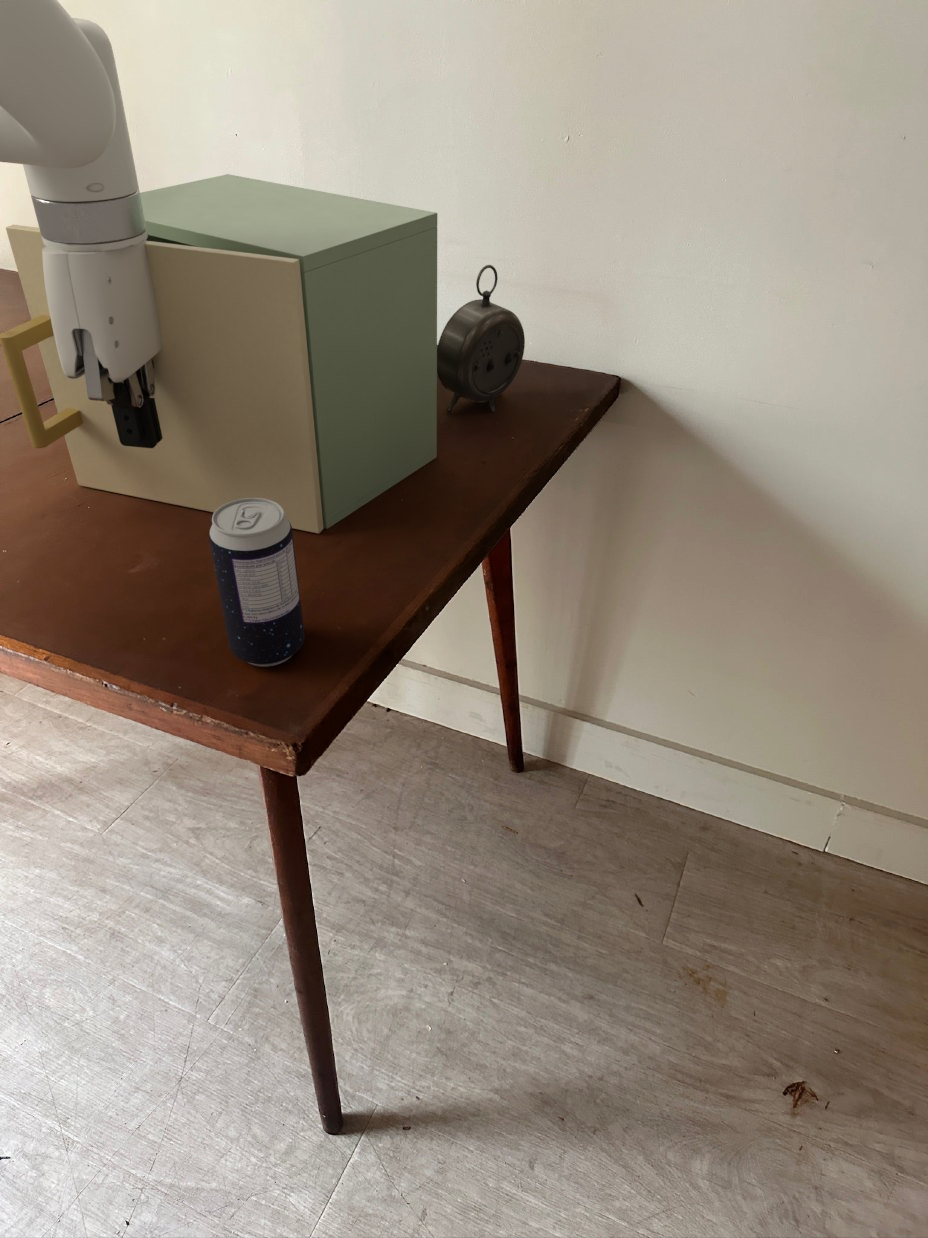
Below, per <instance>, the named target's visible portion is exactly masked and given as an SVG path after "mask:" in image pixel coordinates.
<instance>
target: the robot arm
mask: <svg viewBox="0 0 928 1238" xmlns="http://www.w3.org/2000/svg"><path fill="white" fill-rule="evenodd" d="M129 133H130V132H129V127H128V123H127V117H126V111H125V107H124V102H123V95H122V91H121V85H120V80H119V75H118V70H117V64H116V58H115V55H114V51H113V46H112V43H111V41H110V38H109V36H108V35H107V33H106V32H105V30H104V29H103V28H102V27H101V26H100V25H99V24H97V22H95V21H94V22H93V21H92V20H89V19H84V18H77V17H72V16H71V15H70V13H68V11H67V10H66V9H65V8H64V6H63V5H62V4H61V3H60V2H59V1H58V0H0V163H6V164H7V163H8V164H16V165H17V164H18V165H22V167H23V171H24V175H25V179H26V182H27V185H28V189H29V193H30V198H31V201H32V205H33V209H34V212H35V216H36V221H37V225H38V228H39V229H40V232H41V236H42V240H43V243H44V245H45V246H46V247H45V248H43V249H42V256H43V272H44V282H45V289H46V296H47V302H48V307H49V312H50V318H51V323H52V328H53V333H54V337H55V342H56V346H57V350H58V355H59V359H60V362H61V366H62V369H63V372H64V374H65V375H66V376H67V377H68V378H70V379H76V378H79V377H81V376H82V375H84V374H85V378H86V386H87V395H88V398H89V399H90V400H95V401H106V402H107V404H108V405H111V407H112V411H113V415H114V419H115V423H116V428H117V432H118V436H119V440H120V443H121V444H122V445H124V446H131V447H142V448H154V447H155V446H156V445H157V443H159V442H160V441H161V440H162V432H161V428H160V423H159V418H158V413H157V408H156V404H155V399H154V398H150V396H154V395H155V390H156V389H155V380H154V372H153V369H154V362H153V360H152V357H153V356H155V355H156V354H157V353H158V352H159V351H160V350H161V349H162V340H161V330H160V322H159V316H158V309H157V303H156V298H155V292H154V287H153V282H152V276H151V272H150V267H149V262H148V257H147V253H146V248H145V243H146V239H147V238H148V233H147V228H146V223H145V218H144V213H143V207H142V202H141V197H140V193H141V192H140V188H139V187H140V186H139V182H138V181H139V180H138V176H137V170H136V164H135V159H134V155H133V154H134V153H133V149H132V144H131V139H130V134H129Z"/></svg>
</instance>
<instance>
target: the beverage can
mask: <svg viewBox="0 0 928 1238" xmlns="http://www.w3.org/2000/svg"><path fill="white" fill-rule="evenodd" d="M208 539H209V545H210V550H211V555H212V556H211V557H212V562H213V566H214V567H213V568H214V573H215V576H216V583H217V588H218V593H219V599H220V603H221V608H222V615H223V620H224V625H225V630H226V635H227V642H228V646H229V650H230V651H231V653H232V654H233V655H234V656H235V658H237V659H239V660H241V661H243V662H245V663H248V664H249V665H252V666H256V667H263V668H264V667H265V668H267V667H273V666H277V665H280V664H282V663H285V662H286V661H288V660H289V659H290V658H292V656H293V655H295V654H296V653H298V651H299V650H300V649H301V648H302V646H303V645H304V642H305V627H304V620H303V612H302V611H303V610H302V602H301V594H300V586H299V578H298V567H297V560H296V551H295V542H294V534H293V528H292V526H291V524H290V522H289V520H288V519H287V518H286V517H285V515H284V510H283V508H282V507H281V506H280V505H279V504H278V503H276V502H274V501H271V500H268V499H263V498H243V499H238V500H234V501H231V502H228V503H226V504H224V505H222V506H221V507H219V508H218V509H217V510H216V511H215V512H213V514H212V517H211V526H210V528H209V532H208Z"/></svg>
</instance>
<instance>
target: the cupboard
mask: <svg viewBox="0 0 928 1238" xmlns="http://www.w3.org/2000/svg"><path fill="white" fill-rule="evenodd" d="M140 197H141V202H142V207H143V213H144V218H145V223H146V228H147V233H148V238H147V239H146V241H153V242H161V243H169V244H178V245H186V246H194V247H202V248H211V249H219V250H227V251H235V252H244V253H252V254H260V255H268V256H277V257H285V258H293V259H299V262H300V273H301V285H302V296H303V307H304V318H305V329H306V340H307V351H308V362H309V373H310V384H311V396H312V407H313V418H314V429H315V440H316V451H317V462H318V473H319V484H320V495H321V507H322V518H323V529H326V530H328V529H329V528H331V527H332V526H334V525H336V524H337V523H339V522H340V521H342V520H343V519H345V518H346V517H348V516H349V515H351V514H352V513H354V512H355V511H357V510H359V509H361V507H363V506H365V505H366V504H368V503H369V502H371V501H372V500H374V499H375V498H377V497H379V496H380V495H382V494H383V493H384V492H386V491H388V490H389V489H391V488H392V487H394V486H395V485H397V484H398V483H400V482H401V481H403V480H404V479H406V478H407V477H408V476H411V475H412V474H414V473H415V472H417V471H418V470H419V469H421V468H422V467H424V466H425V465H427V464H429V463H430V462H432V461H434V460H435V459H437V456H438V451H437V450H438V448H437V447H438V444H437V443H438V436H437V435H438V434H437V433H438V426H437V425H438V374H437V347H438V212H435V211H429V210H425V209H419V208H413V207H408V206H403V205H397V204H392V203H386V202H381V201H375V200H371V199H364V198H359V197H353V196H348V195H342V194H339V193H338V194H337V193H332V192H327V191H321V190H316V189H310V188H305V187H301V186H300V187H298V186H294V185H288V184H283V183H279V182H278V183H277V182H272V181H267V180H261V179H256V178H250V177H245V176H239V175H234V174H230V173H229V174H228V173H227V174H222V175H217V176H213V177H209V178H204V179H198V180H194V181H189V182H184V183H180V184H175V185H171V186H165V187H160V188H157V189H151V190H147V191H143V192H140Z"/></svg>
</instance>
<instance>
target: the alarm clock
mask: <svg viewBox="0 0 928 1238" xmlns="http://www.w3.org/2000/svg"><path fill="white" fill-rule="evenodd" d="M487 269H491V270H492V271H493V275H494V282H493V286H492V288H491V289H490V291H489V290H483V292H481V290H480V280H481V277H482V275H483V273H484V271H485V270H487ZM475 283H476V291H477V293H478V295H480V296H481V297H482V298H481V299H480V298H479V299H474V300H471V301H469V302H467V303H465V304H463V305H462V306H460V307H459V308H458V309H457V310H456V311H455V312H454V313H453V314H452V316H451V317H450V318H449V319H448V321H447V322H446V324H445V326H444V328H443V330H442V332H441V335H440V337H439V340H438V342H437V378H438V380H439V382H440V383H441V385H442V386H443V387H444V388H445V390H448V391H449V392H451V393H453V396H452V398H451V401H450V404H449V407H447V408H446V413H448V414H451V413H452V411H453V408H454V407H455V406H456V404H457V403H458V402H459V399H460V398H463V399H465V400H467V401H468V402H472V403H478V404H480V403H481V404H482V403H487V402H488V404H489V408H490V411H492V412H494V413H495V412H496V406H495V399H496V398H497V397H499V396H500V395H502V394H503V392H505V391H506V390H507V389H508V388H509V386H510V385H511V384H512V382H513V381H514V379H515V377H516V376H517V374H518V372H519V369H520V367H521V364H522V361H523V357H524V354H525V347H526V346H525V344H526V340H525V339H526V338H525V330H524V328H523V324H522V322H521V320H520V319H519V317H518V316H517V315H516V314H515V313H514V312H513V311H512V310H510V309H507V308H505V307H503V306H500V305H498V304H496V303H494V302H491V301H490V298H491V296H492V294H493V293H494V291H495V289H496V287H497V284H498V271H497V269H496V268H495V266H493V264H486V265H485V266H483V267H482V268H480V270H479V272H478V274H477V277H476V282H475Z"/></svg>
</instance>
